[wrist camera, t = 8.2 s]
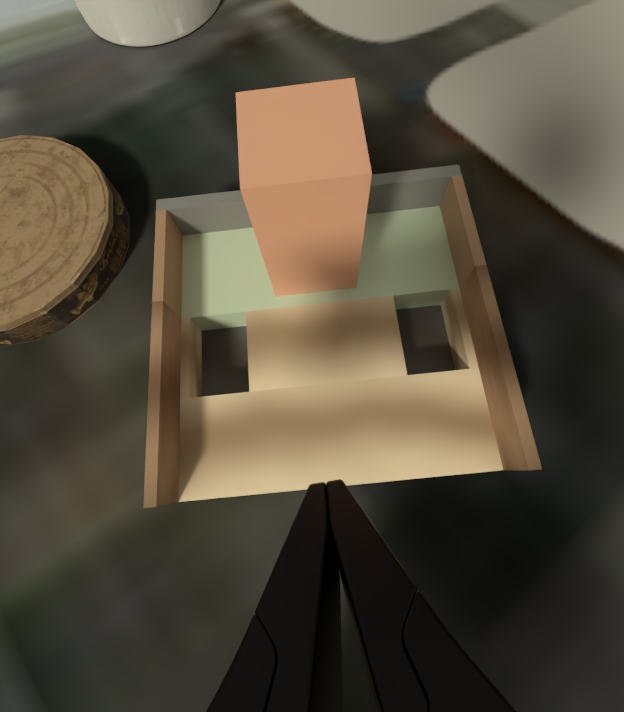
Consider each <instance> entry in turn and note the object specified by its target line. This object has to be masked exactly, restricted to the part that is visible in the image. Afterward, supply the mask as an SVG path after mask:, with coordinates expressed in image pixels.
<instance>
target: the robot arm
mask: <svg viewBox="0 0 624 712" xmlns="http://www.w3.org/2000/svg"><path fill="white" fill-rule="evenodd" d="M339 570H340V574H339ZM340 575H341V579H342V584H343V588H344V592H345V596H346V600H347V604H348V608H349V612H350V616H351V620H352V624H353V628H354V632H355V636H356V640H357V644H358V648H359V652H360V656H361V660H362V664H363V668H364V672H365V676H366V680H367V684H368V688H369V692H370V696H371V700H372V704H373V708H374V712H516V711H515V709H514V708H513V707H512V706H511V705H510V704H509V702H508V701H507V700H506V699H505V698H504V697H503V695H502V694H501V693H500V692H499V691H498V690H497V689H496V687H495V686H494V685H493V684H492V683H491V682H490V680H489V679H488V678H487V677H486V676H485V675H484V673H483V672H482V671H481V670H480V669H479V668H478V666H477V665H476V664H475V663H474V662H473V661H472V660H471V658H470V657H469V656H468V655H467V654H466V652H465V651H464V650H463V649H462V647H461V646H460V645H459V644H458V643H457V641H456V640H455V639H454V638H453V636H452V635H451V634H450V633H449V632H448V630H447V629H446V627H445V626H444V625H443V623H442V622H441V621H440V619H439V618H438V617H437V615H436V614H435V613H434V611H433V610H432V608H431V607H430V606H429V604H428V603H427V601H426V600H425V598H424V597H423V596H422V594H421V593H420V592H419V591H417V587H416V586H415V584H414V583H413V581H412V580H411V578H410V577H409V576H408V574H407V573H406V571H405V570H404V568H403V567H402V565H401V564H400V563H399V561H398V560H397V558H396V557H395V555H394V554H393V552H392V551H391V550H390V548H389V547H388V545H387V544H386V542H385V541H384V539H383V538H382V537H381V535H380V534H379V532H378V531H377V529H376V528H375V526H374V525H373V523H372V522H371V521H370V519H369V518H368V516H367V515H366V513H365V512H364V510H363V509H362V508H361V506H360V505H359V503H358V502H357V500H356V499H355V497H354V496H353V495H352V493H351V492H350V490H349V489H348V487H347V486H346V484H345V483H344V482H343V481H342V480H341V479H339V480H332V481H328V482H327V483H324V482H320V483H313V484H310V485H309V487H308V489H307V491H306V494H305V496H304V498H303V501H302V503H301V505H300V508H299V510H298V512H297V515H296V517H295V519H294V522H293V524H292V526H291V529H290V531H289V533H288V536H287V538H286V540H285V543H284V545H283V547H282V550H281V552H280V555H279V557H278V559H277V562H276V564H275V566H274V569H273V571H272V573H271V576H270V578H269V580H268V583H267V585H266V587H265V590H264V592H263V594H262V597H261V599H260V601H259V604H258V606H257V608H256V611H255V614H256V615H254V616H253V617H252V620H251V622H250V624H249V627H248V629H247V631H246V634H245V636H244V638H243V640H242V642H241V645H240V647H239V649H238V651H237V653H236V656H235V658H234V660H233V662H232V664H231V666H230V668H229V670H228V672H227V674H226V676H225V677H224V679H223V681H222V683H221V685H220V687H219V689H218V691H217V693H216V695H215V697H214V698H213V700H212V702H211V704H210V706H209V708H208V709H207V711H206V712H343V698H342V651H341V604H340Z"/></svg>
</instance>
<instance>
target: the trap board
mask: <svg viewBox="0 0 624 712" xmlns="http://www.w3.org/2000/svg"><path fill="white" fill-rule="evenodd" d="M539 469H542V467H541V463H540V459H539V456H538V452H537V448H536V445H535V441H534V437H533V434H532V430H531V426H530V423H529V419H528V415H527V412H526V408H525V404H524V401H523V397H522V393H521V390H520V386H519V382H518V379H517V375H516V371H515V368H514V364H513V360H512V357H511V353H510V349H509V346H508V342H507V338H506V335H505V331H504V327H503V324H502V320H501V316H500V313H499V309H498V305H497V302H496V298H495V294H494V291H493V287H492V283H491V280H490V276H489V273H488V269H487V265H480V266H475V267H474V268H473V270H472V271H471V273H470V274H469V275H468V277H467V278H466V280H465V281H464V283H463V284H462V285H461V287H460V288H456V289H451V290H450V292H449V293H448V295H447V296H446V298H445V299H444V301H443V302H442V304H441V305H434V306H425V307H416V308H407V309H397V310H396V309H395V303H394V297H393V296H383V297H374V298H365V299H356V300H347V301H338V302H329V303H320V304H310V305H301V306H292V307H283V308H274V309H265V310H256V311H247V312H246V326H241V327H232V328H223V329H213V330H204V331H201V329H200V328H199V327H198V326H197V325H196V324H195V323H194V322H193V321H192V320H191V319H190V318H183V319H181V318H180V317H179V316H178V315H177V314H176V313H175V312H174V311H173V310H172V309H171V308H170V307H169V306H168V305H167V304H166V303H165V302H164V301H155V302H152V320H151V344H150V367H149V391H148V414H147V438H146V461H145V485H144V508H149V507H158V506H162V505H167V504H171V503H176V502H183V501H193V500H203V499H213V498H224V497H234V496H244V495H254V494H265V493H275V492H285V491H295V490H306V489H308V487H309V485H310V484H313V483H320V482H324V483H327V482H328V481H332V480H339V479H341V480H342V481H343V482H344V483H345V484H346V486H347V485H357V484H367V483H377V482H388V481H398V480H408V479H418V478H429V477H439V476H449V475H459V474H469V473H480V472H490V471H500V470H528V471H529V470H539Z"/></svg>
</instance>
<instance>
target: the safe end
mask: <svg viewBox="0 0 624 712" xmlns="http://www.w3.org/2000/svg"><path fill="white" fill-rule="evenodd" d="M480 265H486V262H485V258H484V254H483V251H482V247H481V243H480V240H479V236H478V232H477V229H476V225H475V221H474V218H473V214H472V210H471V207H470V203H469V199H468V196H467V192H466V188H465V185H464V181H463V177H462V174H461V170H460V166H459V165H450V166H442V167H433V168H425V169H416V170H408V171H399V172H391V173H382V174H374V175H372V177H371V184H370V192H369V199H368V207H367V214H366V222H365V229H364V236H363V244H362V251H361V259H360V266H359V273H358V281H357V288H349V289H340V290H331V291H322V292H313V293H304V294H296V295H287V296H278V297H276V296H275V293H274V290H273V287H272V284H271V281H270V278H269V275H268V272H267V269H266V266H265V263H264V260H263V257H262V254H261V251H260V248H259V245H258V242H257V239H256V236H255V233H254V230H253V227H252V224H251V221H250V218H249V215H248V212H247V209H246V206H245V202H244V199H243V196H242V193H241V190H237V191H229V192H220V193H212V194H203V195H195V196H186V197H178V198H169V199H161V200H157V203H156V226H155V250H154V273H153V297H152V302H155V301H164V302H165V303H166V304H167V305H168V306H169V307H170V308H171V309H172V310H173V311H174V312H175V313H176V314H177V315H178V316H179V317H180V318H181V319H183V318H190V319H191V320H192V321H193V322H194V323H195V324H196V325H197V326H198V327H199V328H200V329H201V331H204V330H213V329H223V328H232V327H241V326H246V312H247V311H256V310H265V309H274V308H283V307H292V306H301V305H310V304H320V303H329V302H338V301H347V300H356V299H365V298H374V297H383V296H393V297H394V303H395V309H396V310H397V309H407V308H416V307H425V306H434V305H441V304H442V302H443V301H444V299H445V298H446V296H447V295H448V293H449V292H450V290H451V289H456V288H460V287H461V285H462V284H463V283H464V281H465V280H466V278H467V277H468V275H469V274H470V273H471V271H472V270H473V268H474V267H475V266H480Z"/></svg>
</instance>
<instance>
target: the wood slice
mask: <svg viewBox="0 0 624 712" xmlns="http://www.w3.org/2000/svg"><path fill="white" fill-rule="evenodd" d="M128 247H129V215H128V212H127V210H126V208H125V205H124V203H123V201H122V198H121V196H120V194H119V192H118V191H117V190H116V188H115V187H114V186H113V185H112V183H111V182H110V181H109V179H108V178H107V177H106V176H105V174H104V173H103V172H102V170H101V169H100V168H99V167H98V165H96V164H95V163H94V162H93V161H92V160H91V159H90V158H89V157H88V156H87V155H86V154H85V153H84V152H83V151H82V150H81V149H80V148H78V147H75V146H73V145H70V144H68V143H65V142H63V141H60V140H58V139H56V138H52V137H40V136H27V135H21V136H15V137H9V138H4V139H0V347H3V346H9V345H15V344H21V343H27V342H32V341H37V340H39V339H41V338H44V337H46V336H48V335H50V334H52V333H54V332H56V331H59V330H61V329H63V328H65V327H67V326H69V325H71V324H72V323H73V322H75V321H76V320H77V319H78V318H79V317H81V316H82V315H83V314H84V313H86V312H87V311H88V310H89V309H90V308H92V307H93V306H94V305H95V304H97V303H98V302H99V301H100V299H101V298H102V297H103V295H104V294H105V293H106V291H107V290H108V288H109V287H110V286H111V284H112V283H113V281H114V280H115V279H116V277H117V276H118V274H119V273H120V270H121V267H122V264H123V261H124V258H125V256H126V253H127V250H128Z"/></svg>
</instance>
